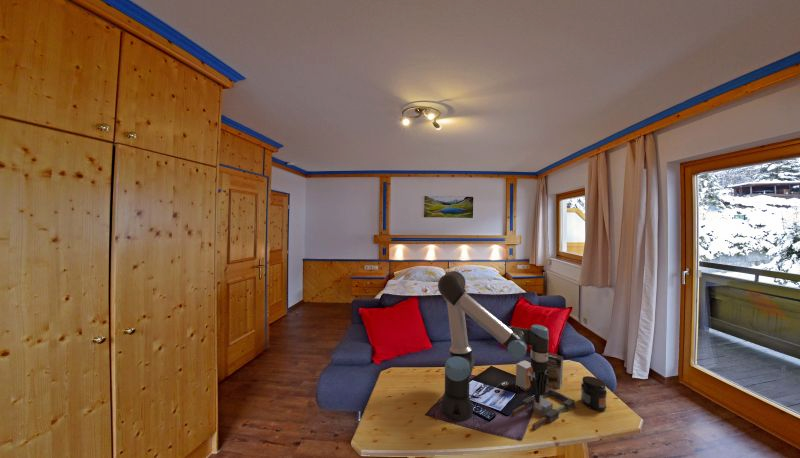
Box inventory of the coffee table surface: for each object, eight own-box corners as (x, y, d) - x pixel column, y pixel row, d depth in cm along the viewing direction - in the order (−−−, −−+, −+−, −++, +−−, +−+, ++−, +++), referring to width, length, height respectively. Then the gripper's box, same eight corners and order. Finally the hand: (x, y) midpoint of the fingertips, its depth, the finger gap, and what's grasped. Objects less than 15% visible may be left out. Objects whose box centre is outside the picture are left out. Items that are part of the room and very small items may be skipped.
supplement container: (611, 409, 135) (612, 385, 135) (595, 413, 132) (596, 388, 132) (590, 396, 145) (591, 374, 145) (575, 400, 142) (576, 377, 142)
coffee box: (542, 382, 158) (542, 354, 157) (545, 378, 162) (545, 351, 162) (560, 389, 152) (561, 360, 151) (562, 384, 156) (563, 356, 156)
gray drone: (509, 413, 131) (509, 407, 131) (547, 392, 149) (547, 386, 148) (537, 432, 120) (537, 425, 119) (574, 406, 137) (574, 400, 137)
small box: (525, 392, 148) (526, 368, 148) (515, 386, 153) (515, 363, 153) (534, 387, 152) (535, 364, 152) (523, 382, 158) (524, 359, 158)
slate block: (533, 409, 134) (533, 400, 134) (540, 405, 138) (540, 396, 137) (545, 417, 129) (545, 407, 129) (552, 412, 132) (552, 403, 132)
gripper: (538, 366, 125) (538, 417, 125) (554, 358, 131) (553, 408, 132) (523, 359, 131) (523, 408, 131) (539, 352, 138) (538, 399, 138)
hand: (538, 408), depth 131 cm, fingers closed
